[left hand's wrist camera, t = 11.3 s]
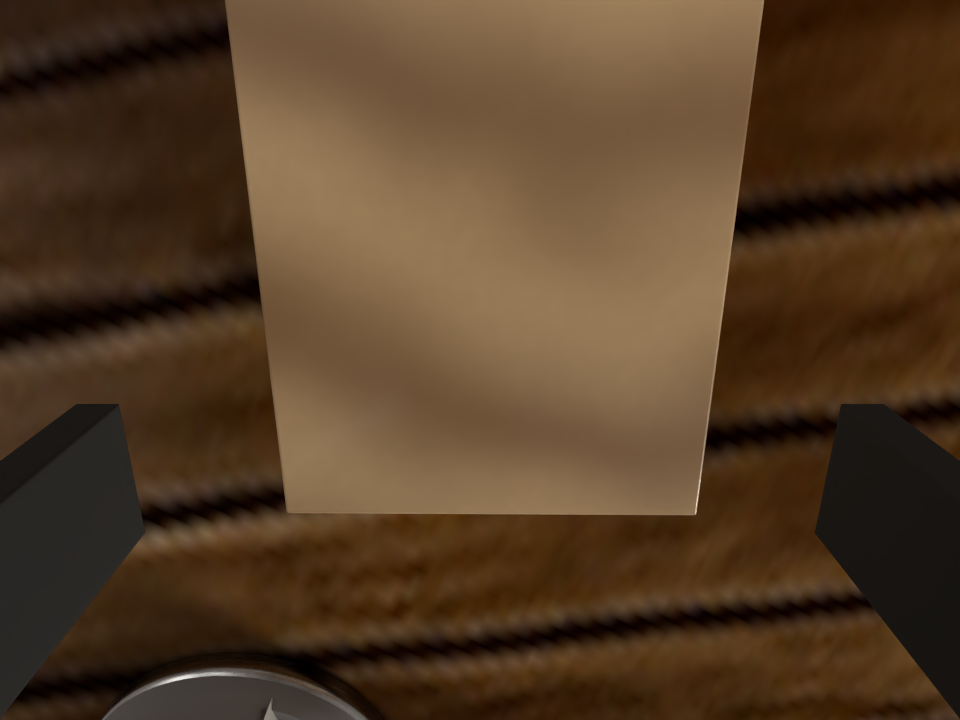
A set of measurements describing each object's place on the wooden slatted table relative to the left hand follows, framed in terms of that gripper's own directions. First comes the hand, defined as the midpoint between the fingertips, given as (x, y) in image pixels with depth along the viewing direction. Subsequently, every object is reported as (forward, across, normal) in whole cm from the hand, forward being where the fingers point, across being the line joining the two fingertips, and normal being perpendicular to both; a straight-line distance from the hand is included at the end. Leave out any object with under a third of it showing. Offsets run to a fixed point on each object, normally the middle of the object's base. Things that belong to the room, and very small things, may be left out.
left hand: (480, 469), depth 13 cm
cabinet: (+13, 0, -7) cm, 15 cm away
